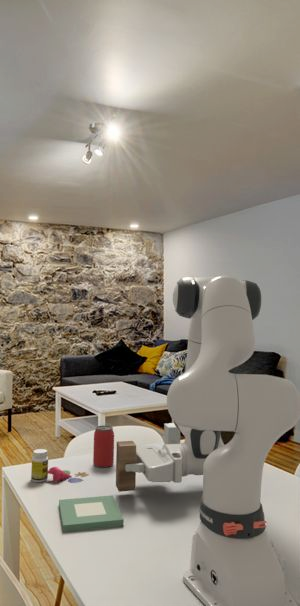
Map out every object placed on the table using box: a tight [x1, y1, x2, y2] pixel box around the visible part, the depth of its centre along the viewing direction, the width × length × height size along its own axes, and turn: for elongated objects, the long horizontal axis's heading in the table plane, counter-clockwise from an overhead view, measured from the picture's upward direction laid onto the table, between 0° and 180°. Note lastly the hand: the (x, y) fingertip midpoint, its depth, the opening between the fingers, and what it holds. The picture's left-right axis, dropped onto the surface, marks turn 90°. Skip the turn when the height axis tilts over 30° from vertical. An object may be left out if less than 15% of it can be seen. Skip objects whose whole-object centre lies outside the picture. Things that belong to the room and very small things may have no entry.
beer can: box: [92, 425, 115, 468], centre depth 149 cm, size 7×7×12 cm
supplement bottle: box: [30, 448, 49, 483], centre depth 135 cm, size 5×5×8 cm
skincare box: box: [163, 422, 181, 445], centre depth 154 cm, size 6×4×12 cm
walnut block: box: [115, 440, 137, 493], centre depth 125 cm, size 4×4×12 cm
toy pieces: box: [47, 466, 89, 484], centre depth 138 cm, size 12×11×4 cm
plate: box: [58, 495, 125, 533], centre depth 113 cm, size 14×14×2 cm
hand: (122, 463), depth 125 cm, fingers closed on walnut block, 4 cm apart
